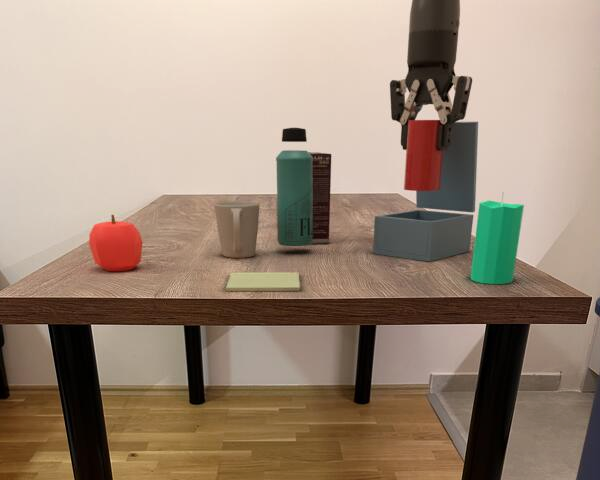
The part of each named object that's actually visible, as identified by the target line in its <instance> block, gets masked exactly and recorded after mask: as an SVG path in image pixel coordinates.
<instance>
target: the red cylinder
mask: <svg viewBox="0 0 600 480" xmlns="http://www.w3.org/2000/svg"><path fill="white" fill-rule="evenodd" d="M439 125H441V122H440V119H415V120H408V132H407V148H406V150H405V165H404V182H403V190H404V191H410V192H411V191H412V192H413V191H414V192H416V191H436V190H440V182H441V170H442V158H443V151H438V150H437V143H438V130H439Z"/></svg>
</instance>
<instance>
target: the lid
mask: <svg viewBox="0 0 600 480" xmlns="http://www.w3.org/2000/svg"><path fill="white" fill-rule="evenodd" d="M478 136H479V121H456V122H454V124H453V126H452V135H451V144H450V146H448V149H447V150H445V151H443V158H442V170H441V182H440V190H436V191H415V192H416V193H415V194H416V196H415V198H416V201H415V202H416V203H415V205H416V208H417V209H427V210H429V209H430V210H438V211H439V210H440V211H450V212H451V211H452V212H460V213H461V212H463V213H475V212H476V197H477V195H476V194H477V171H478V170H477V169H478V168H477V167H478V166H477V165H478V141H479V137H478Z"/></svg>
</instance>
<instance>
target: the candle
mask: <svg viewBox="0 0 600 480" xmlns="http://www.w3.org/2000/svg"><path fill="white" fill-rule="evenodd" d="M504 193H505V192H504V191H502V194H501V201H500V202H499V201H495V200H486V201H482V202H479V203H478V204H479V205H478V213H477V219H476V220H477V221H476V229H475V237H474V238H475V239H474V246H473V255H472V261H471V272H470V280H471V281H473V282H476V283H480V284H489V285H506V284H510V283H513V281H514V274H515V268H516V261H517V254H518V248H519V240H520V233H521V227H522V221H523V214H524V208H525V204H521V203H505V202H503V201H504Z"/></svg>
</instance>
